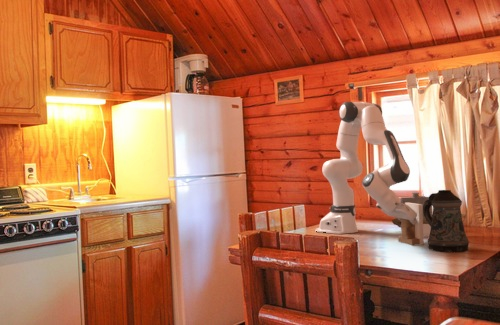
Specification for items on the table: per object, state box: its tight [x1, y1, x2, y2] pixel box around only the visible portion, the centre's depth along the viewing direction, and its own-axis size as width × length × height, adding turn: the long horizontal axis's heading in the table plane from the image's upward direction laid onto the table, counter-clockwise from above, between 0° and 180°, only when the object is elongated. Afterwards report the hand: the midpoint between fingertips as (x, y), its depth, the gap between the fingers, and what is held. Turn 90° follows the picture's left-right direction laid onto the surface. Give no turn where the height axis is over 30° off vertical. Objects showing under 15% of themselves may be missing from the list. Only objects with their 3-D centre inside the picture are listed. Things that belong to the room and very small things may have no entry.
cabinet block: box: [400, 218, 415, 239], centre depth 229 cm, size 4×4×11 cm
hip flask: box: [399, 191, 433, 218], centre depth 263 cm, size 16×4×20 cm, turn 82°
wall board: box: [397, 203, 424, 246], centre depth 229 cm, size 10×6×18 cm, turn 18°
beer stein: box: [423, 189, 470, 254], centre depth 214 cm, size 16×19×25 cm
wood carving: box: [391, 212, 467, 237], centre depth 247 cm, size 9×35×11 cm, turn 75°
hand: (409, 222), depth 229 cm, fingers open, 6 cm apart
